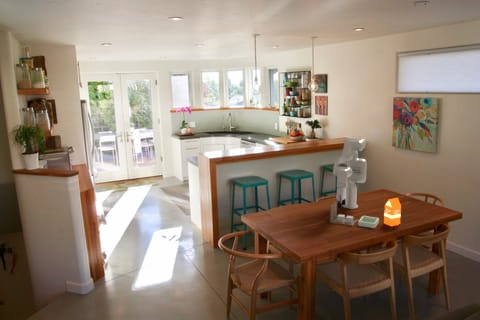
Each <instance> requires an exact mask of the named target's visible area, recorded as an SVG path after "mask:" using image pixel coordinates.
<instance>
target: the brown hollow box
mask: <svg viewBox="0 0 480 320" xmlns="http://www.w3.org/2000/svg"><path fill="white" fill-rule="evenodd" d="M337 210H338V208H337V200H336V201H334V202H333V203H332V204H331V205H330V206H329V224H330V223H331V224H335V225H341V226H347V227H354V225H355V224H356V223H358V221H359V219H358V218H353V223H352V224H349V223H346V217H347V216H345V221H344V222H337V216H338V213H337V212H338V211H337Z"/></svg>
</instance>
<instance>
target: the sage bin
mask: <svg viewBox="0 0 480 320" xmlns="http://www.w3.org/2000/svg"><path fill="white" fill-rule="evenodd" d="M379 223H380V217H376V216H375V217H373V216H367V215H362V216H361V217H360V219H358V221H357V226H359V227H364V228H369V229H375V228H376V227H377V225H378V224H379Z"/></svg>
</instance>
